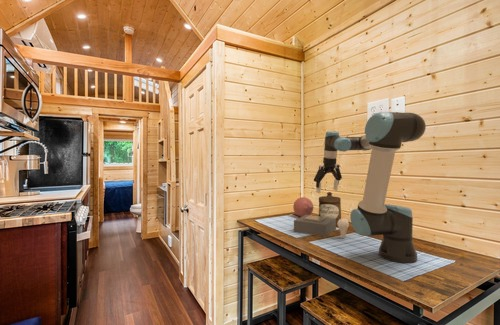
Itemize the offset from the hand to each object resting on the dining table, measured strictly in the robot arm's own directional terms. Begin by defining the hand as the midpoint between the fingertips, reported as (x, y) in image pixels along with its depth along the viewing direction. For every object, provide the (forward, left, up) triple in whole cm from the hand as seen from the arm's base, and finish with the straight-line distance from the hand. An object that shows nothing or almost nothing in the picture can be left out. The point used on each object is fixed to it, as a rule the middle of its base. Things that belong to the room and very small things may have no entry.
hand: (326, 191), depth 156 cm
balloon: (+31, +28, -25) cm, 49 cm away
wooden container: (+23, +6, -25) cm, 35 cm away
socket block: (0, +8, -25) cm, 26 cm away
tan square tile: (0, +8, -20) cm, 22 cm away
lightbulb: (-7, -11, -25) cm, 29 cm away
